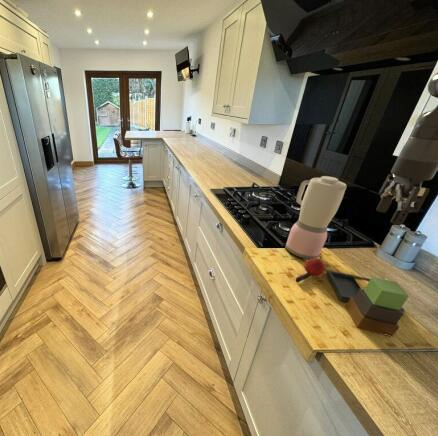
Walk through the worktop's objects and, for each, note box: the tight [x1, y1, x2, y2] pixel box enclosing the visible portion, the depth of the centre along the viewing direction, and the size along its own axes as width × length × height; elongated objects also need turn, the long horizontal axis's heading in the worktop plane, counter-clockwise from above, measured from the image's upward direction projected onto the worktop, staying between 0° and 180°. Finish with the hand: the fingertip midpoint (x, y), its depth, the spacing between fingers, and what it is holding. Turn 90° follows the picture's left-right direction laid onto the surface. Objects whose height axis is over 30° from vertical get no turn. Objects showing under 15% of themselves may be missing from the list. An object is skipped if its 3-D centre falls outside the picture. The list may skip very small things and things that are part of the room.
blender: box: [284, 175, 348, 261], centre depth 92 cm, size 16×12×32 cm
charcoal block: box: [354, 288, 405, 324], centre depth 65 cm, size 7×7×4 cm
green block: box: [364, 276, 410, 310], centre depth 63 cm, size 6×6×5 cm
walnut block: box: [345, 297, 401, 337], centre depth 66 cm, size 8×8×4 cm
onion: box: [304, 256, 326, 277], centre depth 83 cm, size 6×6×8 cm
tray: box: [325, 269, 405, 312], centre depth 77 cm, size 16×14×2 cm
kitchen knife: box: [295, 266, 327, 283], centre depth 84 cm, size 18×1×2 cm, turn 117°
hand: (387, 217), depth 64 cm, fingers open, 8 cm apart
